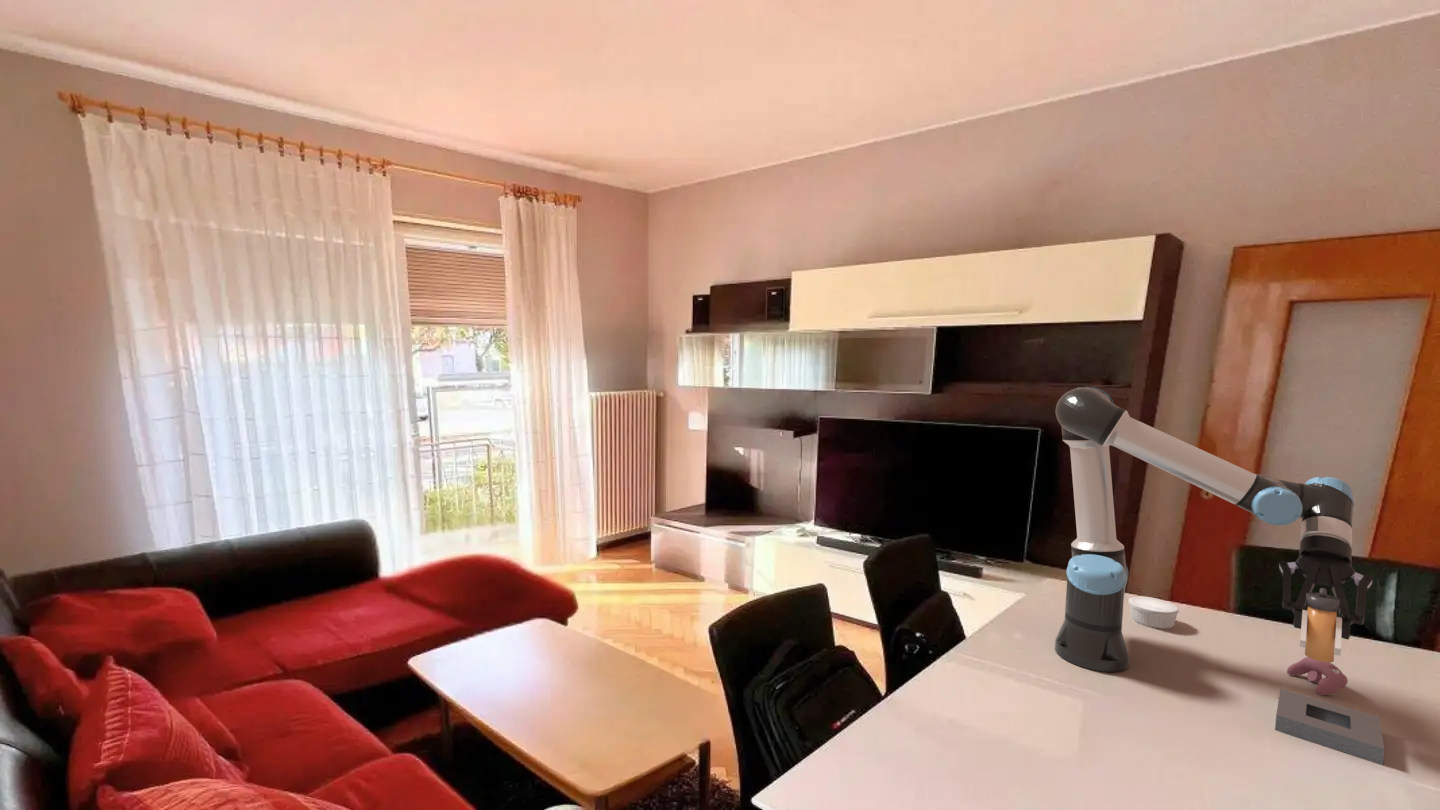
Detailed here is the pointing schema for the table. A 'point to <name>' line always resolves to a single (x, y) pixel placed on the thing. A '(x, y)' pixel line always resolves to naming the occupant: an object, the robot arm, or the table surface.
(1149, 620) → the ramekin
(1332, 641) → the orange lidded canister
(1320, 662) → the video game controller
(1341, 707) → the grey square socket block
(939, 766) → the table surface
